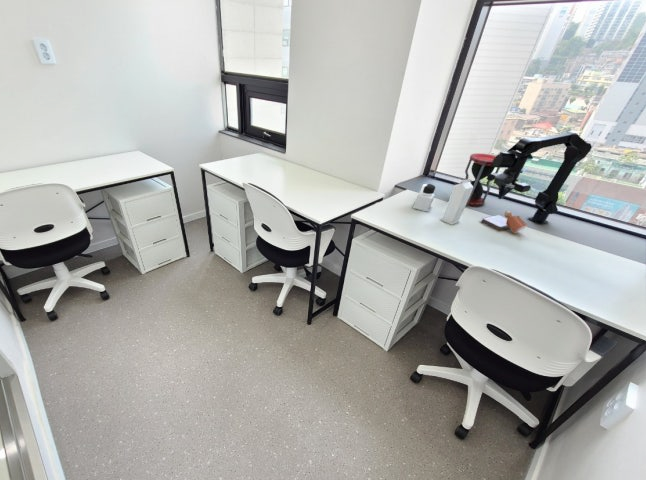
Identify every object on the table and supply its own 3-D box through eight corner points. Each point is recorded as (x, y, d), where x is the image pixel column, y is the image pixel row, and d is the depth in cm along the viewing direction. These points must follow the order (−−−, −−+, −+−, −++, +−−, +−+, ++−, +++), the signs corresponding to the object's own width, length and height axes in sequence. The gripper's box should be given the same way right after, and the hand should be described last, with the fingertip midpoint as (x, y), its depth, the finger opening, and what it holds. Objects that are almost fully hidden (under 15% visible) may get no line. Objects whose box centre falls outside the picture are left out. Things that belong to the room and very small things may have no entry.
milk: (458, 222, 160) (476, 180, 146) (450, 224, 157) (469, 182, 144) (448, 217, 164) (465, 176, 150) (440, 219, 162) (457, 178, 148)
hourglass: (451, 201, 181) (468, 157, 165) (456, 193, 191) (473, 151, 176) (481, 209, 174) (503, 164, 158) (485, 200, 184) (505, 156, 169)
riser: (496, 218, 165) (498, 215, 163) (514, 227, 157) (516, 223, 156) (480, 222, 161) (482, 218, 159) (498, 230, 154) (500, 227, 152)
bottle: (524, 234, 151) (532, 219, 146) (515, 236, 149) (524, 221, 144) (502, 224, 160) (510, 209, 154) (494, 226, 158) (502, 211, 153)
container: (430, 207, 174) (438, 184, 166) (427, 211, 169) (435, 188, 161) (416, 203, 177) (423, 181, 169) (412, 208, 172) (420, 185, 164)
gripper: (485, 163, 150) (472, 194, 160) (522, 176, 136) (505, 208, 146) (501, 161, 154) (487, 191, 163) (539, 173, 140) (521, 205, 150)
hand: (499, 198), depth 155 cm, fingers closed
